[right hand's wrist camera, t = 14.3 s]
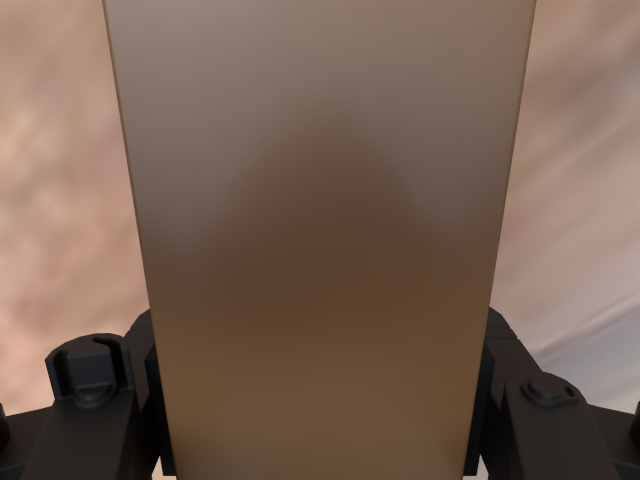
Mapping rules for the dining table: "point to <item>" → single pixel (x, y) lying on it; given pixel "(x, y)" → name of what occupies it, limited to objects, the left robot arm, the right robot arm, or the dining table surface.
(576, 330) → the dining table surface
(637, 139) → the dining table surface
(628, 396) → the dining table surface
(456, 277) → the bar
